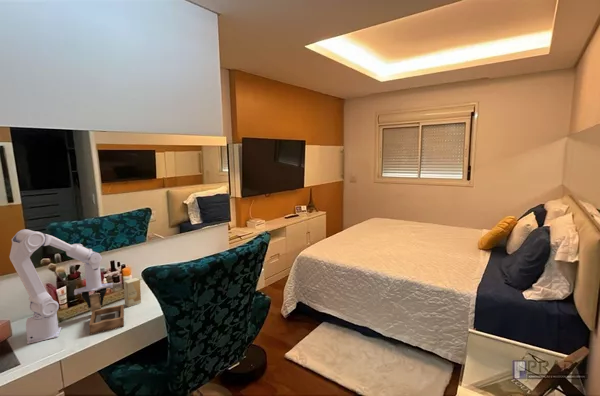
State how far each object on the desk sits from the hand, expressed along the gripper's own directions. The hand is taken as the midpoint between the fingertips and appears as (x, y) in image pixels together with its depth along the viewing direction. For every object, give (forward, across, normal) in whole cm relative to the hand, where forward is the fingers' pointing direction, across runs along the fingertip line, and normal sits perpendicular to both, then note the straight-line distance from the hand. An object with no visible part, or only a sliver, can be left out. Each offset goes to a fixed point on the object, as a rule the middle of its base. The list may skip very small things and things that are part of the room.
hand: (95, 305), depth 139 cm
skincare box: (+5, +15, +4) cm, 16 cm away
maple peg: (+2, 0, 0) cm, 2 cm away
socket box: (+4, +5, -11) cm, 13 cm away
